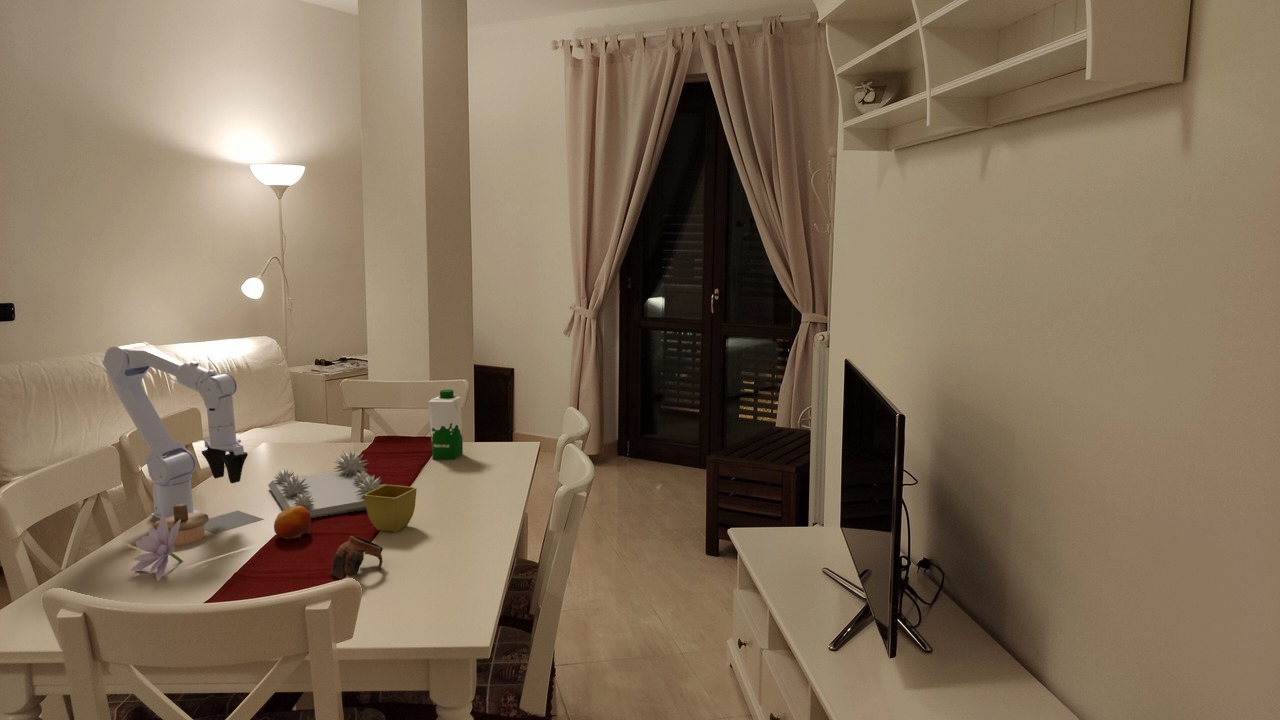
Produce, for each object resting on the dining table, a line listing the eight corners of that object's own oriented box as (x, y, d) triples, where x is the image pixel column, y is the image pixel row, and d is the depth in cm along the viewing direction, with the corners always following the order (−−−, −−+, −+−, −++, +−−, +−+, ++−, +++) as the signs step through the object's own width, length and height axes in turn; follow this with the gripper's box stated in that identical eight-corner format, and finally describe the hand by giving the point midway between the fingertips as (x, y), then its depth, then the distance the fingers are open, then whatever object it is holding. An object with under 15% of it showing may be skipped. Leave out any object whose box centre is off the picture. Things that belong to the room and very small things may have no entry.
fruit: (306, 537, 197) (287, 506, 197) (281, 553, 199) (261, 522, 199) (326, 525, 205) (308, 495, 204) (301, 540, 207) (283, 511, 206)
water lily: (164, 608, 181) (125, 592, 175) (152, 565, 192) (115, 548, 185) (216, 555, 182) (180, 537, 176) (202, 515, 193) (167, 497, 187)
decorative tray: (268, 491, 239) (265, 455, 238) (365, 475, 252) (362, 441, 251) (290, 527, 210) (287, 486, 208) (399, 507, 223) (396, 469, 221)
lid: (145, 526, 200) (143, 507, 200) (193, 513, 209) (192, 495, 208) (168, 535, 194) (166, 516, 193) (217, 521, 203) (216, 503, 202)
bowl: (147, 541, 201) (145, 526, 200) (191, 529, 208) (190, 514, 208) (168, 550, 195) (166, 535, 194) (213, 537, 202) (211, 522, 202)
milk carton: (466, 453, 274) (463, 389, 271) (455, 460, 265) (452, 395, 262) (439, 452, 275) (436, 389, 272) (428, 460, 266) (424, 394, 263)
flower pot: (419, 523, 208) (417, 486, 207) (398, 536, 200) (395, 497, 199) (388, 520, 211) (385, 484, 210) (365, 532, 203) (362, 494, 202)
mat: (189, 525, 211) (189, 523, 211) (237, 512, 220) (237, 510, 220) (215, 535, 204) (215, 533, 204) (264, 520, 213) (263, 519, 213)
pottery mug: (329, 569, 183) (346, 531, 184) (373, 585, 184) (389, 548, 186) (323, 576, 171) (341, 535, 173) (369, 593, 173) (387, 553, 175)
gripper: (253, 425, 210) (258, 480, 212) (222, 418, 219) (227, 471, 221) (224, 430, 205) (230, 487, 207) (193, 423, 213) (199, 478, 215)
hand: (226, 479), depth 213 cm, fingers open, 7 cm apart
